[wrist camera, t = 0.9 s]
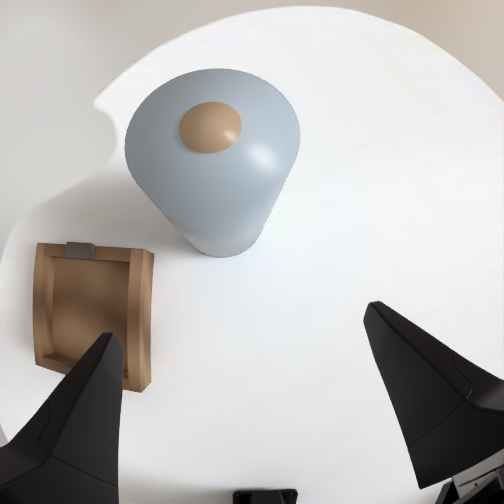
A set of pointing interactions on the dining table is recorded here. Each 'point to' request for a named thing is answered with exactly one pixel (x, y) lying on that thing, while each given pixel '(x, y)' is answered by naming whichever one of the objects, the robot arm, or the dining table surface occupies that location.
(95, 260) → the square wooden tray
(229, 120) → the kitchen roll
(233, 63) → the dining table surface
